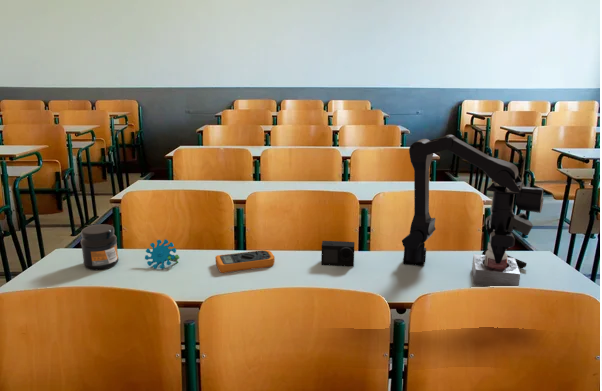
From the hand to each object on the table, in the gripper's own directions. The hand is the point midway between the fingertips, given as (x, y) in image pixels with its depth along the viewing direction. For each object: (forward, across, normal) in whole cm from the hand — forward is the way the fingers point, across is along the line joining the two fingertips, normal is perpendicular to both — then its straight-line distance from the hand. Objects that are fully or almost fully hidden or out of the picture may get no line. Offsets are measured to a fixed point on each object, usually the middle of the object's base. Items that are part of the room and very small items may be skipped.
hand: (496, 257), depth 152 cm
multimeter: (+8, -10, +76) cm, 76 cm away
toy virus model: (+8, -16, +101) cm, 102 cm away
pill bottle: (+7, 0, 0) cm, 7 cm away
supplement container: (+7, -21, +120) cm, 122 cm away
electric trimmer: (+8, +15, -4) cm, 17 cm away
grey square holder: (+7, 0, 0) cm, 7 cm away
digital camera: (+7, -1, +47) cm, 48 cm away
